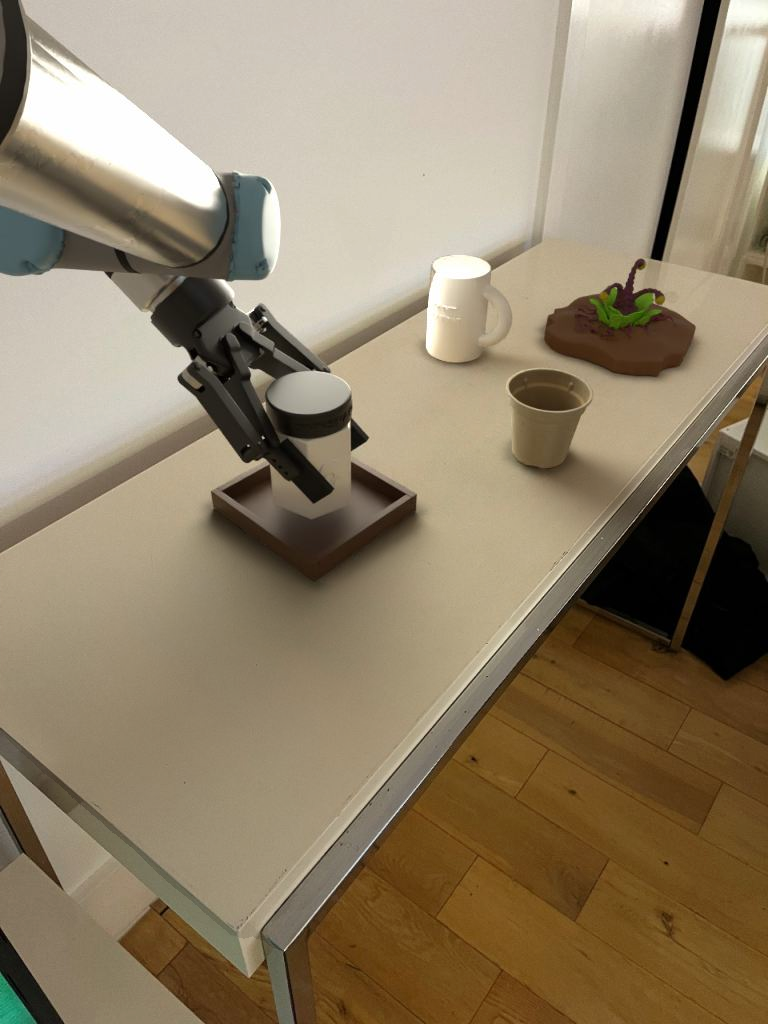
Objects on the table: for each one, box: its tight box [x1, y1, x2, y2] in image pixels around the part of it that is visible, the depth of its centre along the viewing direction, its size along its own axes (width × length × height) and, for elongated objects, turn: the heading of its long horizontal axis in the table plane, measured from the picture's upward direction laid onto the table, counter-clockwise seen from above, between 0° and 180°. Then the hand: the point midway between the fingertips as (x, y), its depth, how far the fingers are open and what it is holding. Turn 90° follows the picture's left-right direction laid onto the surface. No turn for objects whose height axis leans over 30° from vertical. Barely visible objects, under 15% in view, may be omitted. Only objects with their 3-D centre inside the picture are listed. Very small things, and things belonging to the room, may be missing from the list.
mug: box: [425, 254, 513, 364], centre depth 104 cm, size 8×12×12 cm
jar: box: [264, 370, 354, 519], centre depth 76 cm, size 9×8×12 cm
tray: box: [210, 455, 418, 582], centre depth 81 cm, size 15×16×2 cm
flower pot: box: [505, 367, 594, 469], centre depth 87 cm, size 9×9×9 cm
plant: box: [543, 258, 697, 377], centre depth 109 cm, size 20×20×11 cm
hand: (342, 469), depth 77 cm, fingers closed on jar, 8 cm apart
